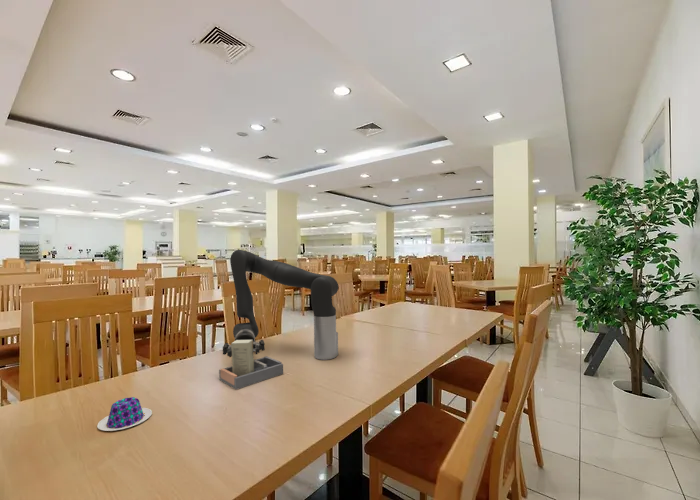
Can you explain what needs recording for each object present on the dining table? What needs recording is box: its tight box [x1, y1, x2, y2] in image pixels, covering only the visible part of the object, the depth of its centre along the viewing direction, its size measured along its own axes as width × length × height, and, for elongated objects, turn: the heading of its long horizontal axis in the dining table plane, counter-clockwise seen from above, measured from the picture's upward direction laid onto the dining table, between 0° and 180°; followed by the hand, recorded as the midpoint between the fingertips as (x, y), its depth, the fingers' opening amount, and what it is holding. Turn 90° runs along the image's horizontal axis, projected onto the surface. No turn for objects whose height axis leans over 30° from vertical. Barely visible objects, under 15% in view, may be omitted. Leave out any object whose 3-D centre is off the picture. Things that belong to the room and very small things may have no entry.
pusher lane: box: [218, 356, 284, 390], centre depth 116 cm, size 18×12×4 cm, turn 136°
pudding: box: [96, 396, 153, 432], centre depth 87 cm, size 12×12×5 cm
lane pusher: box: [254, 358, 267, 371], centre depth 118 cm, size 1×9×3 cm, turn 46°
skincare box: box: [230, 340, 255, 377], centre depth 114 cm, size 6×4×12 cm
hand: (243, 352), depth 113 cm, fingers open, 8 cm apart
